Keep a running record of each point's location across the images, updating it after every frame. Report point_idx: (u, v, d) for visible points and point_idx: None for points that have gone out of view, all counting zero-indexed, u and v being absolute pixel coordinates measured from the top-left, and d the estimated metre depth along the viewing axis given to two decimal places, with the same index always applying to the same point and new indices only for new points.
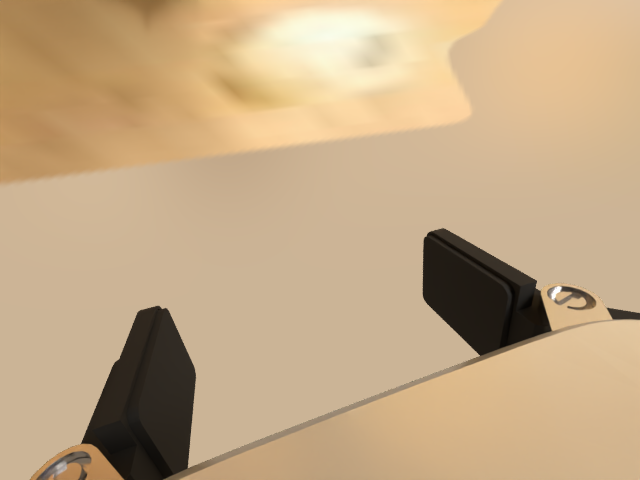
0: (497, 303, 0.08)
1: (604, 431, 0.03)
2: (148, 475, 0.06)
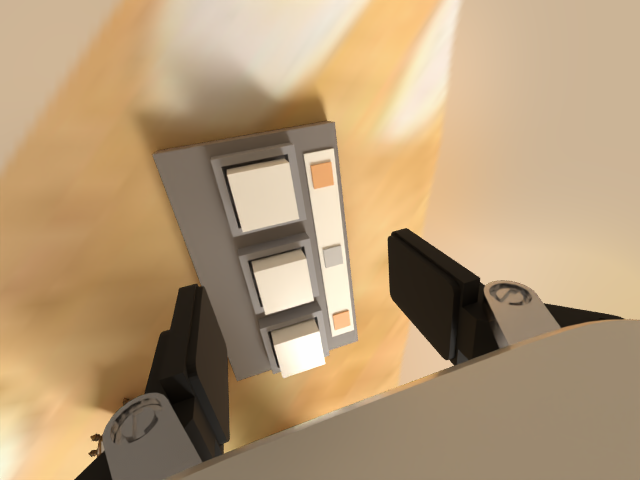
0: (446, 299, 0.09)
1: (604, 431, 0.03)
2: (203, 424, 0.07)
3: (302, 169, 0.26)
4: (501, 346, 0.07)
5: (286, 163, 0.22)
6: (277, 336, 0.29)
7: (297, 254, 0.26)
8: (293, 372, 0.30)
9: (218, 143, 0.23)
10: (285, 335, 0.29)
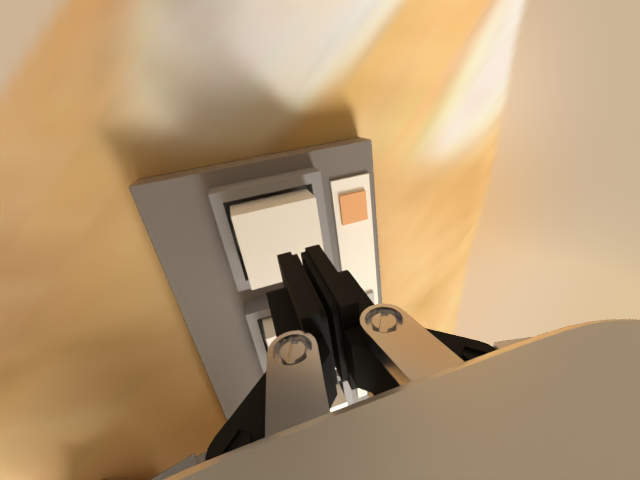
0: (332, 322, 0.09)
1: (604, 431, 0.03)
2: None
3: (327, 201, 0.20)
4: (401, 382, 0.06)
5: (312, 198, 0.16)
6: None
7: None
8: None
9: (219, 170, 0.17)
10: None
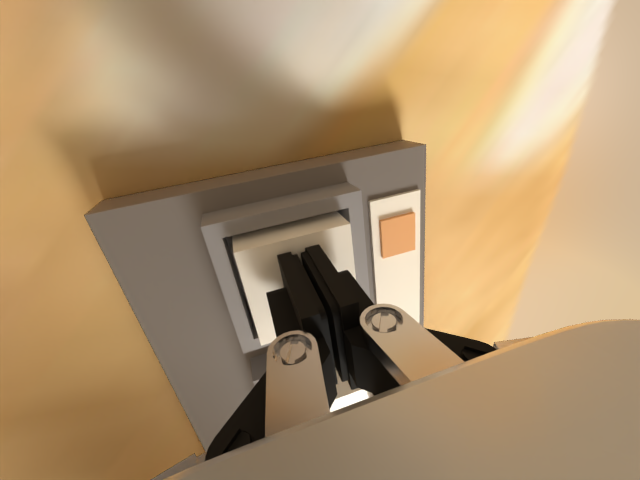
0: (332, 322, 0.09)
1: (604, 431, 0.03)
2: None
3: (364, 227, 0.15)
4: (401, 382, 0.06)
5: (345, 225, 0.12)
6: None
7: None
8: None
9: (216, 188, 0.12)
10: None
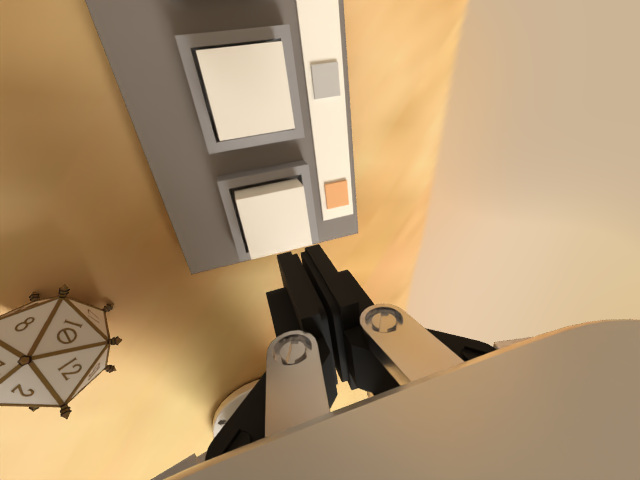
0: (332, 322, 0.09)
1: (604, 431, 0.03)
2: None
3: None
4: (401, 382, 0.06)
5: None
6: (242, 193, 0.20)
7: None
8: (266, 252, 0.21)
9: None
10: (254, 192, 0.20)
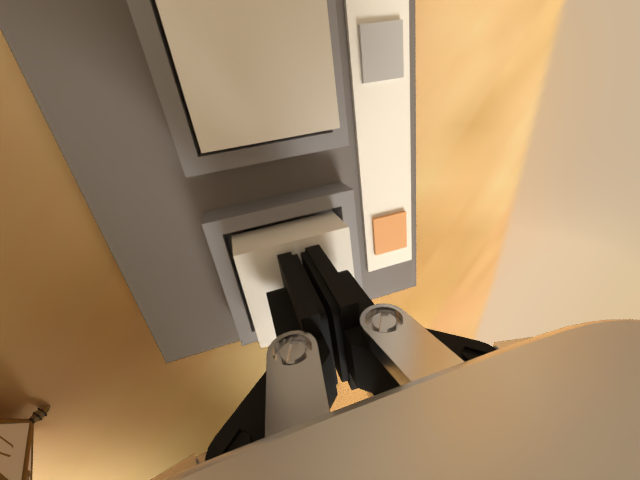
0: (332, 322, 0.09)
1: (604, 431, 0.03)
2: None
3: None
4: (401, 382, 0.06)
5: None
6: (245, 241, 0.12)
7: None
8: None
9: None
10: (265, 238, 0.12)
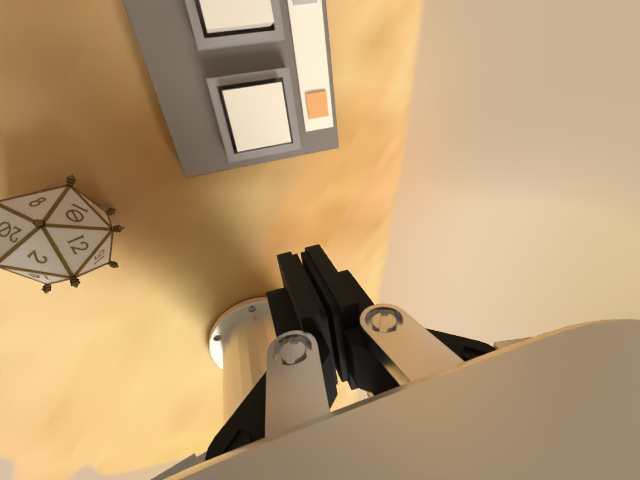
0: (332, 322, 0.09)
1: (604, 431, 0.03)
2: None
3: None
4: (401, 382, 0.06)
5: None
6: (228, 89, 0.23)
7: None
8: (250, 145, 0.24)
9: None
10: None
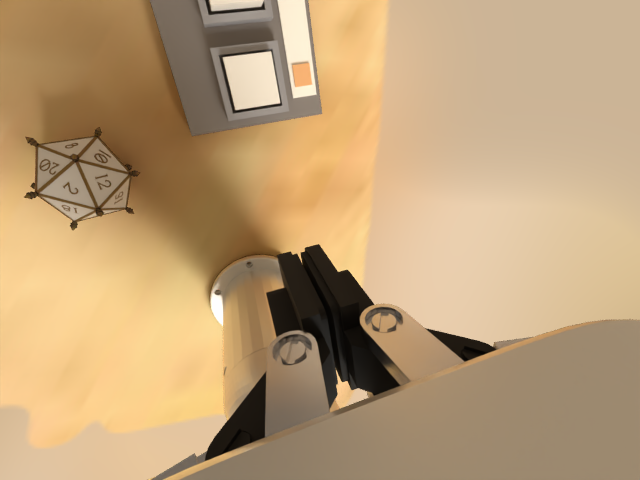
0: (332, 322, 0.09)
1: (604, 431, 0.03)
2: None
3: None
4: (401, 382, 0.06)
5: None
6: None
7: None
8: (246, 104, 0.29)
9: None
10: None
